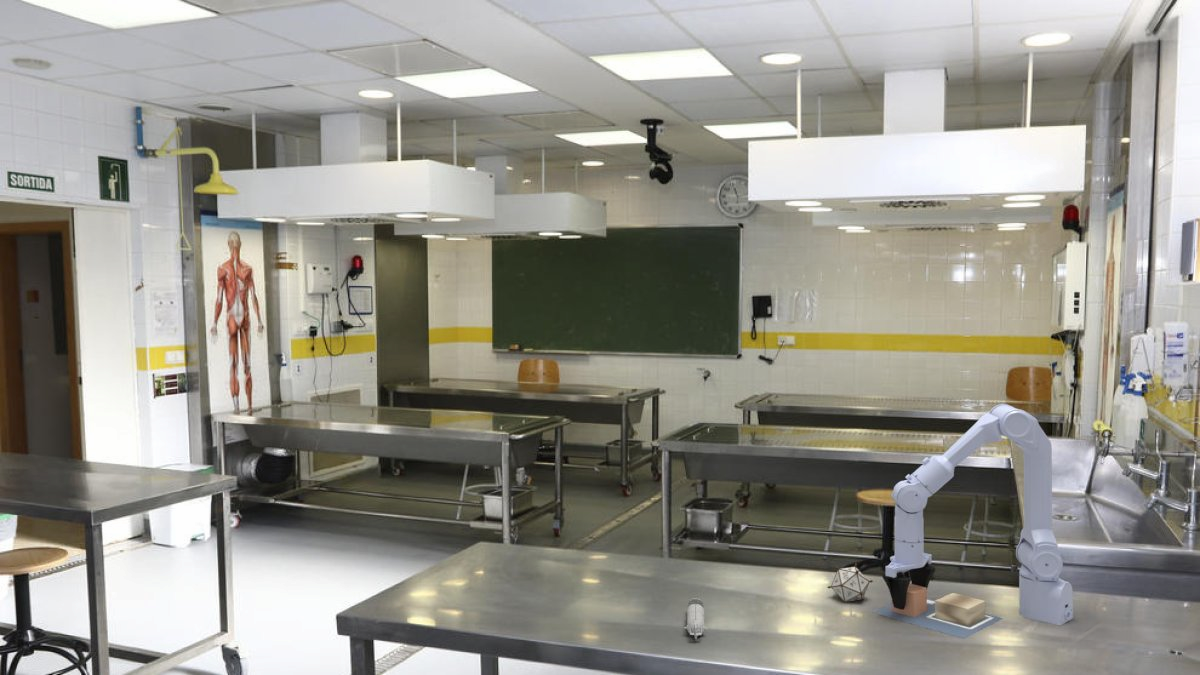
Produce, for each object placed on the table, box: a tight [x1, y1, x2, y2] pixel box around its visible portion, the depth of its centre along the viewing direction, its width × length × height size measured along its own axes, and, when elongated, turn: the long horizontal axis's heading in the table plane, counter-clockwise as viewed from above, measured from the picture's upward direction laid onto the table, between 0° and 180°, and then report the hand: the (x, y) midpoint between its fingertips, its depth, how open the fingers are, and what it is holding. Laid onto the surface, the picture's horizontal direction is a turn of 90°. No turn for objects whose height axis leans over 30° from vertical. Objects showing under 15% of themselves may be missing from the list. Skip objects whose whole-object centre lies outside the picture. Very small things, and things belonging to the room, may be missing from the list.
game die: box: [826, 563, 874, 603], centre depth 197 cm, size 9×8×10 cm
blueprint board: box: [871, 597, 1004, 639], centre depth 186 cm, size 20×16×1 cm
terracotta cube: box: [891, 582, 928, 617], centre depth 188 cm, size 5×5×5 cm
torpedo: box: [683, 598, 709, 640], centre depth 184 cm, size 18×5×6 cm, turn 175°
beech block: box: [934, 592, 986, 626], centre depth 184 cm, size 7×7×4 cm
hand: (909, 603), depth 188 cm, fingers open, 7 cm apart
